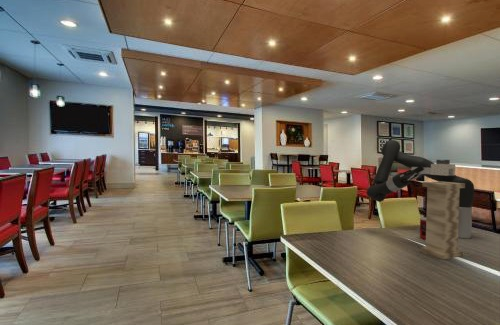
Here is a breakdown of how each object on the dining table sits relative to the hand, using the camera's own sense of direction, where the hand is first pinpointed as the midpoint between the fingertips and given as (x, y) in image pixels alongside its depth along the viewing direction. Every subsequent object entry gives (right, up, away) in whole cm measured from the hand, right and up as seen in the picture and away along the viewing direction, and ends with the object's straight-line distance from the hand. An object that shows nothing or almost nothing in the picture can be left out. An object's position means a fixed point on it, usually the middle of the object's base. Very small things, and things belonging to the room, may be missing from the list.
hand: (424, 167), depth 133 cm
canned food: (+12, -40, +16) cm, 44 cm away
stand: (+3, -40, -7) cm, 41 cm away
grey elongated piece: (+1, -3, -3) cm, 4 cm away
